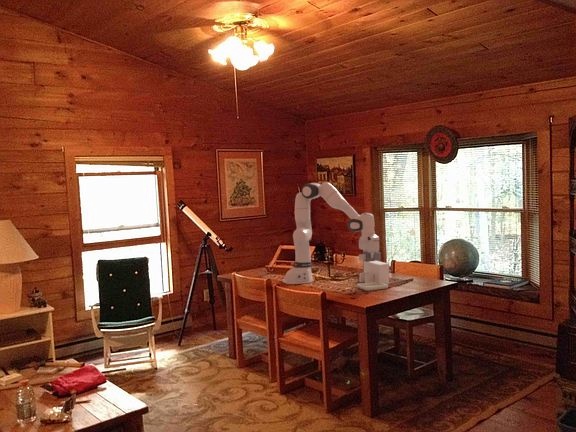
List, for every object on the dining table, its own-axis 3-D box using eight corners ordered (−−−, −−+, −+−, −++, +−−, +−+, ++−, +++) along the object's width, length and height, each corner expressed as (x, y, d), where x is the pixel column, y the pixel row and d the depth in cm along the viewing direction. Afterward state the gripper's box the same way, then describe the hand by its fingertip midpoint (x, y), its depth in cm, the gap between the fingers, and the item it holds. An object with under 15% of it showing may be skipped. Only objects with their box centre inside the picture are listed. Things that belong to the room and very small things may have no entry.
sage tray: (366, 291, 357) (366, 287, 356) (356, 287, 367) (356, 283, 367) (388, 288, 364) (388, 284, 363) (378, 285, 374) (378, 281, 374)
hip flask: (362, 273, 417) (362, 247, 415) (365, 272, 420) (365, 247, 418) (378, 276, 405) (378, 249, 404) (382, 275, 408) (382, 249, 406)
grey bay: (370, 285, 372) (370, 265, 371) (355, 280, 390) (355, 261, 389) (389, 283, 378) (389, 263, 377) (373, 278, 396) (373, 259, 395)
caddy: (361, 262, 364) (360, 253, 363) (357, 261, 368) (356, 252, 368) (375, 260, 368) (374, 252, 368) (370, 260, 373) (370, 251, 372)
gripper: (356, 235, 376) (356, 255, 377) (372, 238, 357) (373, 259, 358) (363, 235, 379) (364, 254, 380) (380, 237, 360) (381, 258, 361)
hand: (368, 257), depth 369 cm, fingers closed on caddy, 5 cm apart
